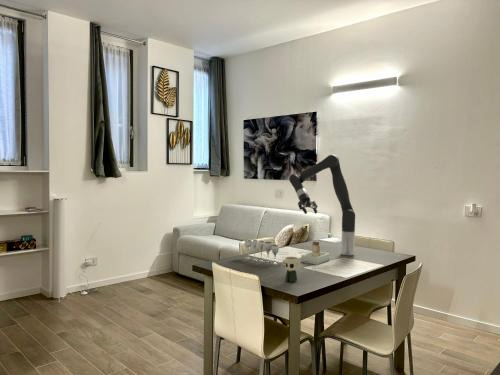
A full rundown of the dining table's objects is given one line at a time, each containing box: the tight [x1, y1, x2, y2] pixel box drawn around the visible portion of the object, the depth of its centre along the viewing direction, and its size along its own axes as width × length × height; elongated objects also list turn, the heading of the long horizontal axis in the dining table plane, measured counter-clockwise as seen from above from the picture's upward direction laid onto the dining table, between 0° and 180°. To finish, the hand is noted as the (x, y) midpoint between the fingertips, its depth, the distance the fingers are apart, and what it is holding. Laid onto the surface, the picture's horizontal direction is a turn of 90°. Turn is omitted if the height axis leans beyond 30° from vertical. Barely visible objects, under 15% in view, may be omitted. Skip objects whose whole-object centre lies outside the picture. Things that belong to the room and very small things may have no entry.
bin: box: [300, 251, 331, 266], centre depth 269 cm, size 18×12×4 cm, turn 143°
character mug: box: [282, 256, 302, 283], centre depth 218 cm, size 11×7×13 cm, turn 57°
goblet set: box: [244, 239, 280, 265], centre depth 266 cm, size 28×6×13 cm, turn 50°
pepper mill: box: [311, 240, 321, 257], centre depth 269 cm, size 5×5×12 cm
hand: (311, 213), depth 284 cm, fingers open, 8 cm apart
